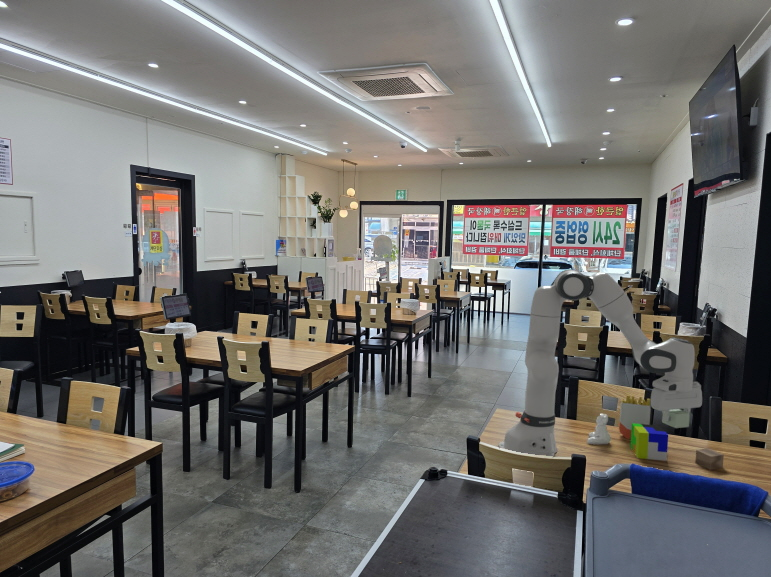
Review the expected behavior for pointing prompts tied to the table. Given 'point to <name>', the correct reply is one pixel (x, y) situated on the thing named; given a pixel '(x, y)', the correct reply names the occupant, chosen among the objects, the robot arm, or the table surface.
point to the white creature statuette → (600, 432)
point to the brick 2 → (709, 458)
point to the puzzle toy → (649, 441)
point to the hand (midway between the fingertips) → (675, 420)
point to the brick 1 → (677, 418)
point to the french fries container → (633, 414)
